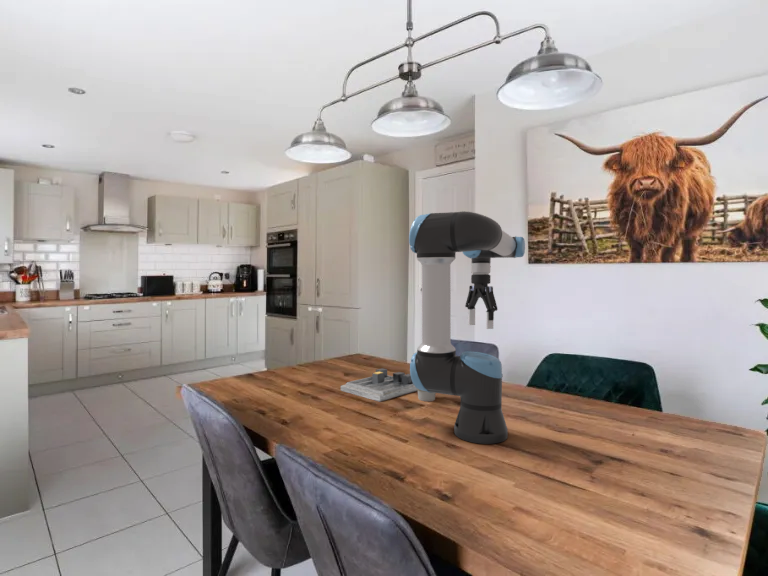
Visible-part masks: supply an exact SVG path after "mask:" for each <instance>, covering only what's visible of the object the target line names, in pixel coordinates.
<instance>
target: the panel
mask: <svg viewBox="0 0 768 576" xmlns="http://www.w3.org/2000/svg"><path fill="white" fill-rule="evenodd" d="M375 372H383V373H384V382H381V383H377V384H374V383H372V376H369V377H365V378H360V379H359V378H358V379H355V380H351V381H348V382H346V383H345V384H343V385H340V391H341V392H343V393H344V392H345V393H348V394H351V395H354V396H357V397H362V398H365V399H368V400H369V399H370V400H373V401H376V402H383V401H387V400H390V399H393V398H396V397H400V396H405V395H406V394H410V393H414V392H418V390H417V388H416V387H415V385H414V384H413V382H412V379H411V375H410V373H407V374H406V373H405V372H401V371H398V372H393V373H392V375H389V374H388V369H387V368H383V367H382V368H378V369H375Z"/></svg>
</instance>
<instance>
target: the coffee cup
mask: <svg viewBox="0 0 768 576" xmlns="http://www.w3.org/2000/svg"><path fill="white" fill-rule="evenodd" d="M417 390H418V391H417V398H418V400H419V401H422V402H433V401H435V400H436V394H437V393H429V392H427V391H421V390H419V389H417Z"/></svg>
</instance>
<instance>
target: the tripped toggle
mask: <svg viewBox="0 0 768 576" xmlns="http://www.w3.org/2000/svg"><path fill="white" fill-rule="evenodd" d="M371 377H372V383H374V384H377V383H381V382H384V373H383V372H376V371H375V372H373V373H372V375H371Z"/></svg>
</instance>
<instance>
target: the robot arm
mask: <svg viewBox="0 0 768 576" xmlns="http://www.w3.org/2000/svg"><path fill="white" fill-rule="evenodd" d="M409 229H410V230H409V234H408V244H409V248H410V250H411V251H412V253H414V254H416V260H417V261H418V262H419V263H420V265H421V343H420V344H419V345H418V346H417V348H416V349H417V351H416V352H415V353H413V355H411V359H410V363H409V374H410V375H411V379H412V382H413V384H414V385H415V387H416V388H417V389H419V390H421V391H427V392H429V393H436V394H442V395H448V396H456V397H457V396H458V397H459V398H460V407H459V409H458V410H459V411H458V413H457V416H456V418H455V422H454V427H453V428H454V431H453V433H454V435H455V436H456V437H457V438H458V439H460V440H462V441H466V442H470V443H474V444H479V445H480V444H482V445H483V444H484V445H485V444H486V445H487V444H488V445H492V444H499V443H502V442H504V441H506V440H507V439H508V432H509V431H508V426H507V422H506V420H505V417H504V416H505V415H504V413H503V410H502V402H503V401H502V398H503V395H502V394H503V391H502V389H503V367H502V362H501V360H500V359H499V358H498V357H496V356H495V355H492V354H489V353H484V352H479V351H470V350H469V351H468V350H467V351H462V353H461V354H460V355H457V353H456V351H457V350H456V347H455V346H454V345H453V344H452V342H451V341H452V340H451V331H452V330H451V325H452V324H451V323H452V322H451V264H452V263H453V262H454V261H455V259H456V255H457V254H456V253H462V254H463V255H464V256H465V257H467V258H469V259H471V264H470V265H471V279H470V280H471V284H473V285H469V289H468V293H467V294H468V295H467V297H466V300H465V301H466V302H465V305H464V306H465V308H467V310H468V312H467V313H468V318H467V319H468V324H467V325H468V326H475V325H476V305H477V304H478V301H479V299H480V298H481V299H482V302H483V303H484V305H485V306H484V307H485V308H486V311H485V313H486V314H485V319H486V320H485V322H486V323H485V324H486V325H485V329H486V330H493V329H494V320H495V317H494V316H495V312H496V311H498V305H497V302H496V299H495V298H496V297H495V294H494V286H492V285H491V286H489V285H490V284H491V277H492V275H490V273H491V262H492V261H491V260H492V259H496V258H503V259H504V258H511V259H512V258H513V259H515V258H523V257H524V255H525V253H526V252H525V251H526V241H525V238H524V237H523V236H517V235H515V236H511V235H509V234H508V233H507V232H505V231H504V230H503V229H502V227H501V225H500V224H499V223H498V222H497V221H496V220H494V219H492V218H491V217H488V216H487V215H483V214H481V213H478V212H473V211H463V210H462V211H454V212H452V211H450V212H434V213H433V212H432V213H431V212H429V213H425V214H420V215H418V216H416V218H415V219H414V220H413V222H412V223H411V225H410V228H409Z"/></svg>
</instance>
